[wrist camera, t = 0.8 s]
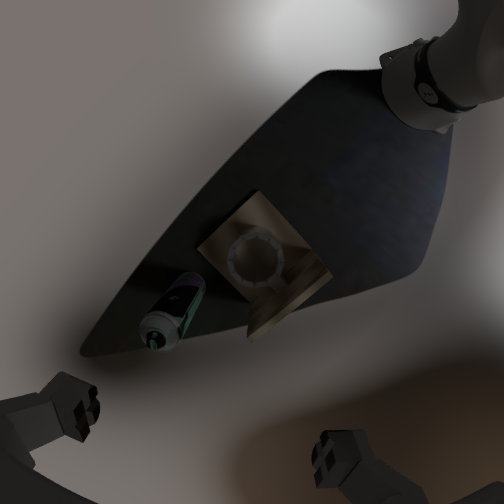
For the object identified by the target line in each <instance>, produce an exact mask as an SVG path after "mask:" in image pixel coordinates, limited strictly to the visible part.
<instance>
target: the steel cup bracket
mask: <svg viewBox="0 0 504 504" xmlns="http://www.w3.org/2000/svg"><path fill="white" fill-rule="evenodd" d="M253 238H259V239H262V240H265V241H268V242H269V243H270V244H271V245H272V246H273V247H274V248H275V249H276V250H277V253H276V256H275V259H274V262H273V263H272V264H271V265H270V266H268V267H267V268H266V269H263V270H258V271H254V270H251V269H247V268H245V267H244V266H243V265H242V264H241V263H240V262H239V261H238V257H237V253H236V248H237V247H238V246H239V245H240V244H241V243H242V242H243V241H244V240H249V239H253ZM226 260H227V264H228V268H229V272H230V274H231V275H232V276H233V277H234V278H235V279H236V280H237V281H238V282H239V283H240V284H241V285H245V286H248V287H251V288H259V287H264V286H269V285H270V286H271V287H272V288H273V289H274V290H275V292H276V293H277V294H279V293H280V292H281V291H282V290H284V289H285V288H286V287H287V286H288V283H287V279H286V278H285V277H284V276H283V275H282V274H281V272H282V269H283V266H284V263H285V261H284V256H283V251H282V247H281V244H280V240H279V239H278V238H277V237H276V236H275V235H274V233H273V232H272V231H271V230H269V229H266V228H263V227H259V226H255V227H250V228H246V229H243V230H242V231H241V232H240V233H239V234H238V235H237V236H236V237H235V238H234V240H233V242H232V244H231V246H230V249H229V252H228V256H227V259H226Z"/></svg>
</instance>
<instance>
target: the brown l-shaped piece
mask: <svg viewBox="0 0 504 504" xmlns="http://www.w3.org/2000/svg"><path fill="white" fill-rule="evenodd" d="M255 226H259V227H263V228H266V229H269V230H271V231H272V232H273V233H274V235H275V236H276V237H277V238H278V239H279V240H280V244H281V247H282V251H283V256H284V261H285V263H284V266H283V269H282V272H281V274H282V275H283V276H284V277H285V278H286V279H287V283H288V286H287V287H286V288H285V289H284V290H282V291H281V292H280V293H279V294H277V293H276V292H275V290H274V289H273V288H272V287H271V286H270V285H269V286H264V287H259V288H251V287H248V286H245V285H241V284H240V283H239V282H238V281H237V280H236V279H235V278H234V277H233V276H232V275H231V274H230V272H229V268H228V264H227V260H226V259H227V256H228V252H229V249H230V246H231V244H232V242H233V240H234V238H235V237H236V236H237V235H238V234H239V233H240V232H241V231H242V230H243V229H246V228H250V227H255ZM197 250H198V251H199V252H200V253H201V254H202V255H203V256H204V257H205V258H206V259H207V260H208V261H209V262H210V263H211V264H212V265H213V266H214V267H215V268H216V269H217V270H218V271H219V272H220V273H221V274H222V275H223V276H224V277H225V278H226V279H227V280H228V281H229V282H230V283H231V284H232V285H233V286H234V287H235V288H236V289H237V290H238V291H239V292H240V293H241V294H242V295H243V296H244V297H245V298H246V299H247V300H248V301H249V302H250V309H249V319H248V329H247V339H248V340H249V341H250V342H251V343H252V342H253V341H255V340H256V339H257V338H259V337H260V336H261V335H262V334H264V333H265V332H266V331H268V330H269V329H270V328H271V327H273V326H274V325H275V324H277V323H278V322H279V321H280V320H282V319H283V318H284V317H285V316H287V315H288V314H289V313H290V312H292V311H293V310H294V309H295V308H297V307H298V306H299V305H300V304H301V303H303V302H304V301H305V300H306V299H308V298H309V297H310V296H311V295H312V294H313V293H315V292H316V291H317V290H318V289H319V288H321V287H322V286H323V285H324V284H325V283H326V282H328V281H329V280H330V279H331V278H332V277H333V276H332V274H331V273H330V272H329V270H328V269H327V268H326V266H325V265H324V264H323V262H322V261H321V260H320V258H319V257H318V256H317V255H316V253H315V252H314V251H313V250H312V249H311V247H310V246H309V245H308V244H307V243H306V242H305V241H304V239H303V238H302V237H301V236H300V235H299V234H298V233H297V232H296V230H295V229H294V228H293V227H292V226H291V225H290V224H289V223H288V221H287V220H286V219H285V218H284V217H283V216H282V215H281V214H280V213H279V212H278V210H277V209H276V208H275V207H274V206H273V205H272V204H271V203H270V202H269V201H268V200H267V199H266V197H265V196H264V195H263V194H262V193H261V192H260V191H257V192H256V193H255V194H254V195H253V196H252V197H251V198H250V199H249V200H248V201H247V202H245V203H244V204H243V205H242V206H241V207H240V208H239V209H238V210H237V211H236V212H235V213H234V214H233V215H232V216H230V217H229V218H228V219H227V220H226V221H225V222H224V223H223V224H222V225H221V226H220V227H219V228H218V229H217V230H216V231H215V232H214V233H213V234H212V235H210V236H209V237H208V238H207V239H206V240H205V241H204V242H203V243H202V244H201V245H200V246H199V247H198V248H197ZM236 253H237V257H238V261H239V262H240V263H241V264H242V265H243V266H244V267H245V268H247V269H251V270H254V271H258V270H263V269H266V268H267V267H268V266H270V265H271V264H272V263H273V262H274V259H275V256H276V253H277V250H276V249H275V248H274V247H273V246H272V245H271V244H270V243H269V242H268V241H265V240H262V239H259V238H253V239H249V240H244V241H243V242H242V243H241V244H240V245H239V246H238V247H237V248H236Z"/></svg>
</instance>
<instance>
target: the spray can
mask: <svg viewBox="0 0 504 504" xmlns="http://www.w3.org/2000/svg"><path fill="white" fill-rule="evenodd" d="M205 290H206V285H205V281H204V279H203V278H202V277H201V276H200V275H199V274H197V273H195V272H185V273H183V274H181V275H180V276H179V277H178V278H177V279H176V280H175V282H174V283H173V284H172V285H171V286H170V287H169V289H168V290H167V291H166V292H165V293H164V295H163V296H162V297H161V298H160V299H159V300H158V302H157V303H156V304H155V305H154V306H153V308H152V309H151V310H150V311H149V312H148V314H147V315H146V316H145V317H144V319H143V320H142V323H141V325H140V335H141V338H142V339H143V341H144V342H145V344H146V345H147V346H148V347H149V348H151V349H153V350H155V351H158V352H170V351H172V350H174V349H175V348H176V347H177V346H178V344H179V343H180V341H181V339H182V337H183V335H184V333H185V331H186V329H187V327H188V325H189V323H190V321H191V319H192V317H193V315H194V313H195V311H196V309H197V307H198V305H199V303H200V301H201V299H202V297H203V295H204V293H205Z"/></svg>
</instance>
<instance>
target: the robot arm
mask: <svg viewBox="0 0 504 504" xmlns="http://www.w3.org/2000/svg"><path fill="white" fill-rule="evenodd" d="M458 3H459V11H458V17H457V20H456V22H455V23H454V25H453V26H452V27H451V28H450V29H449V30H448V31H447V32H446V33H445V34H444V35H442V36H441V37H440V38H439V39H437V40H432V41H428V40H425V41H424V40H423V39H422V38H420V39H417V40H416V41H414V42H413V44H410V45H408V46H405V47H402V48H399V49H396V50H393V51H390V52H387V53H384V54H382V55H381V56H380V59H379V60H380V64H381V67H382V80H381V84H382V91H383V94H384V97H385V100H386V102H387V104H388V105H389V107H390V108H391V110H392V111H393V113H394V114H395V115H396V116H397V117H398V118H399V119H400V120H401V121H403V122H404V123H406V124H407V125H409V126H411V127H413V128H416V129H421V130H431V131H433V132H435V133H437V134H439V135H443V134H445V133H446V132H447V130H448V128H449V126H450V125H451V124H453V123H456V122H458V121H460V120H461V116H462V115H463V112H467V111H469V110H471V109H473V108H475V107H476V106H477V105H478V104H482V103H485V102H489V101H493V100H497V99H500V98H502V97H504V0H458ZM389 57H391V59H390V58H389ZM97 394H98V391H97V387H96V386H94V385H92V384H89V383H87V382H85V381H83V380H80V379H78V378H76V377H74V376H71V375H69V374H67V373H65V372H63V371H62V372H59V373H58V374H57V375H56V376H55V377H54V378H53V379H52V380H51V381H50V382H49V383H48V384H47V385H46V387H44V388H43V389H42V391H41V392H40V393H39V394H38V393H36V392H35V393H31V394H27V395H23V396H19V397H14V398H10V399H5V400H1V401H0V504H98V503H95V502H93V501H91V500H89V499H87V498H84V497H82V496H80V495H78V494H76V493H74V492H72V491H70V490H68V489H66V488H64V487H62V486H60V485H59V484H57V483H55V482H53V481H52V480H50V479H48V478H46V477H45V476H43V475H41V474H40V473H38V472H36V471H35V470H33V468H34V466H35V461H34V460H33V458H32V457H31V455H30V453H29V452H30V451H32V450H34V449H36V448H39V447H41V446H43V445H45V444H47V443H49V442H52V441H53V440H56V439H58V438H60V437H62V436H64V435H67V436H69V437H71V438H73V439H75V440H78V441H80V442H82V443H83V442H84V441H85V439H86V438H87V436H88V434H89V433H90V428H89V426H91V425H93V424H95V423H96V421H97V419H98V417H99V414H100V402H99V401H98V400H97V399H96V396H97ZM320 440H321V441H320V442H318V443H316V444H315V446H314V448H313V451H312V456H311V459H312V466H313V467H314V468H315V469H316V470H317V471H316V473H315V474H314V478H315V482H316V488H338V489H339V490H340V491H341V492H342V493H343V494H344V495H345V496H346V498H347V499H348V500H349V501H350V502H351V503H352V504H429V502H428V500H427V498H426V496H425V494H424V491H423V490H422V488H421V487H420V486H418V485H417V484H415V483H414V482H412V481H410V480H409V479H408V478H406V477H405V476H403V475H401V474H400V473H399V472H397V471H396V470H394V469H393V468H391V467H390V466H389V465H387V464H386V463H384V462H383V461H381V460H380V459H376V458H375V455H374V453H373V450H372V448H371V446H370V443H369V441H368V438H367V436H366V434H365V432H364V430H363V429H357V430H324V431H323V432H322V433H321V435H320ZM451 504H504V483H503V482H500V481H496V482H493V483H491V484H489V485H487V486H485V487H483V488H482V489H480V490H478V491H476V492H474V493H472V494H470V495H468V496H466V497H464V498H462V499H460V500H458V501H455V502H453V503H451Z"/></svg>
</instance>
